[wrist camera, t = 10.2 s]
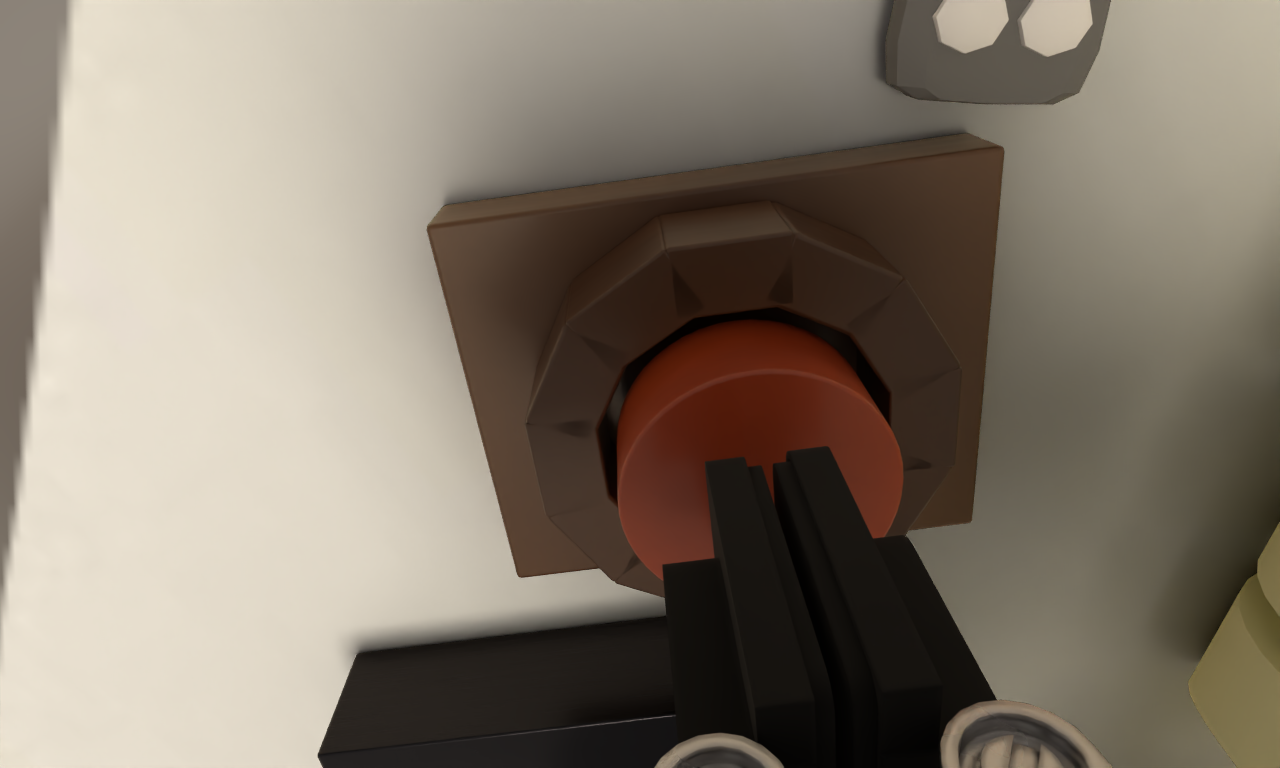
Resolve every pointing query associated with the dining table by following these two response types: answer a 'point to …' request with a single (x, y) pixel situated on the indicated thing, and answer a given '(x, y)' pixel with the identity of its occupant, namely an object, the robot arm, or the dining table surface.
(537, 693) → the plate
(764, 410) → the button
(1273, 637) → the slatted curved stool
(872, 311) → the button block
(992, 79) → the key chain
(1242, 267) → the dining table surface
